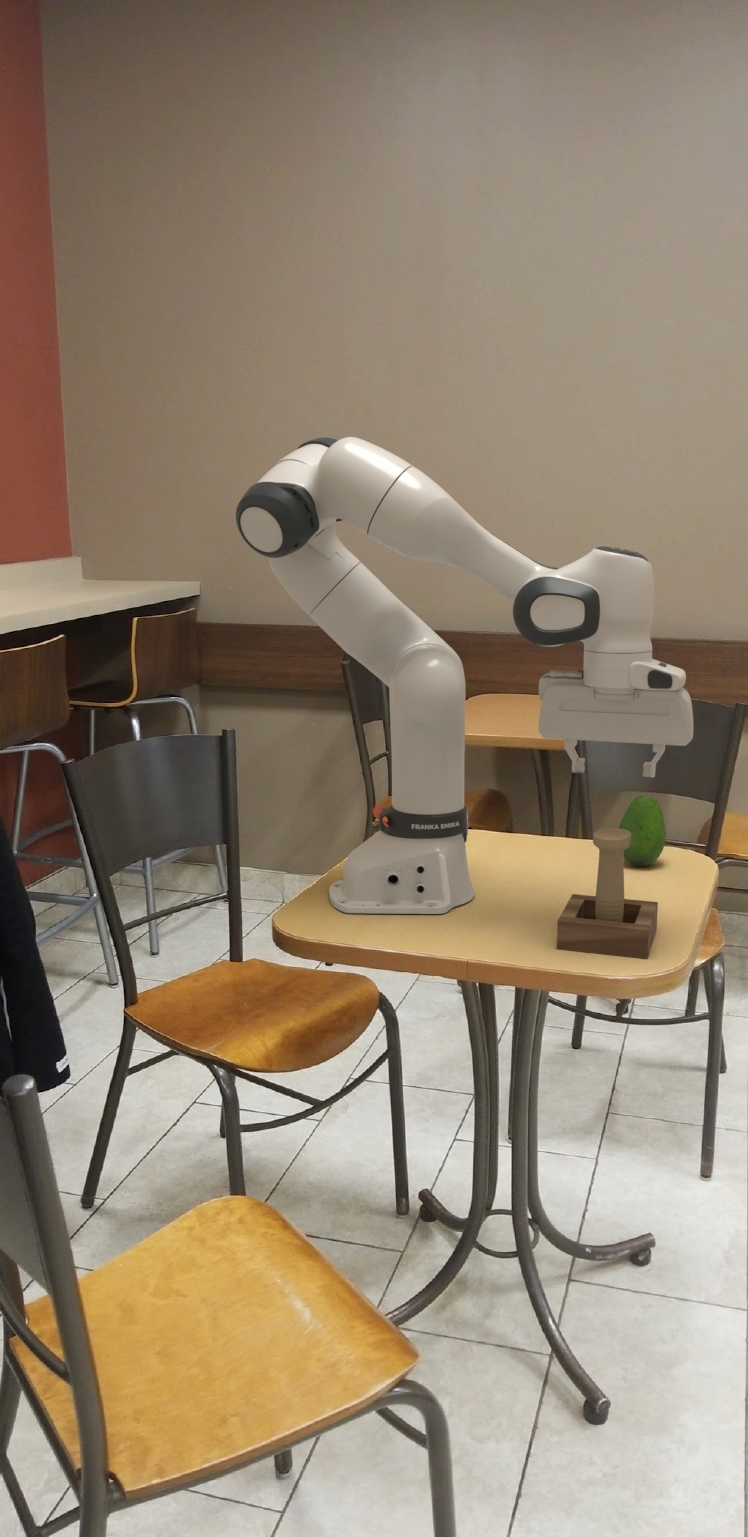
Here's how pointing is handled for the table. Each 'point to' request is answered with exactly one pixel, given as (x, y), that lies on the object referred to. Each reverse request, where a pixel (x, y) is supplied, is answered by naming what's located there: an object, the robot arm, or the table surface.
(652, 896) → the table surface
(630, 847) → the fruit
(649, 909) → the socket board
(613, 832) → the handle
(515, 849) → the table surface
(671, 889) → the table surface
